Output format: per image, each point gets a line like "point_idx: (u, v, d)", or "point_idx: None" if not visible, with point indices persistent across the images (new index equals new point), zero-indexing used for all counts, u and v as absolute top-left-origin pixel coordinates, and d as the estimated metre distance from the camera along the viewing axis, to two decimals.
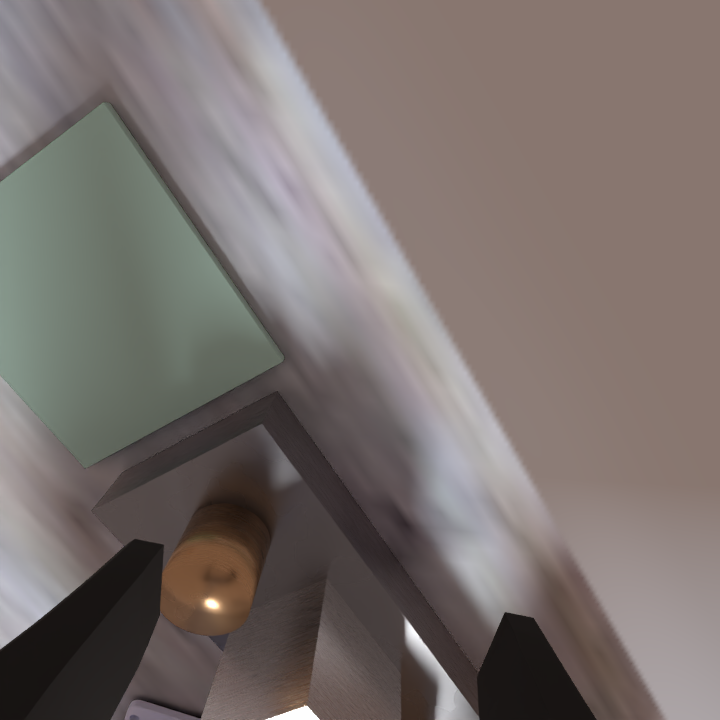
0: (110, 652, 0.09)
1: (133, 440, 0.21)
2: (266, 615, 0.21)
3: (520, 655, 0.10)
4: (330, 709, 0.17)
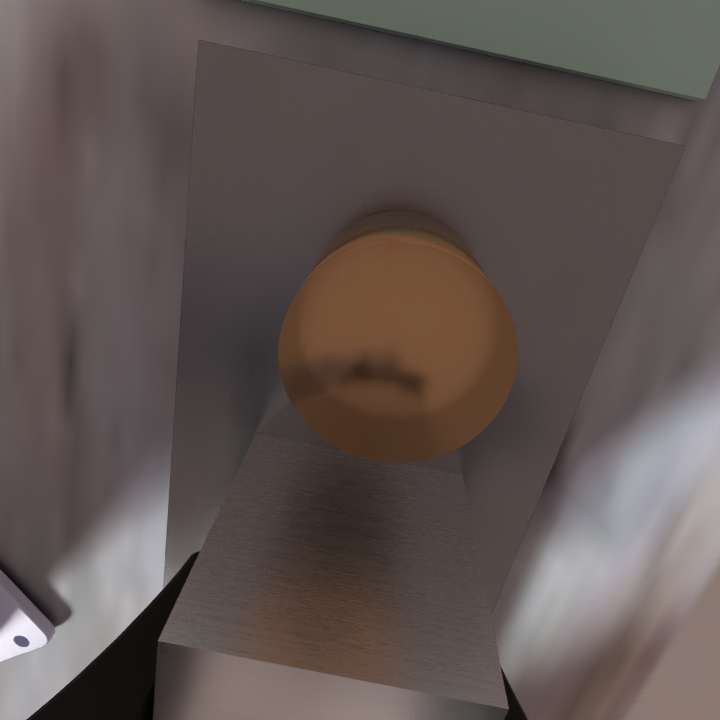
0: None
1: (334, 12, 0.10)
2: (334, 468, 0.11)
3: None
4: None
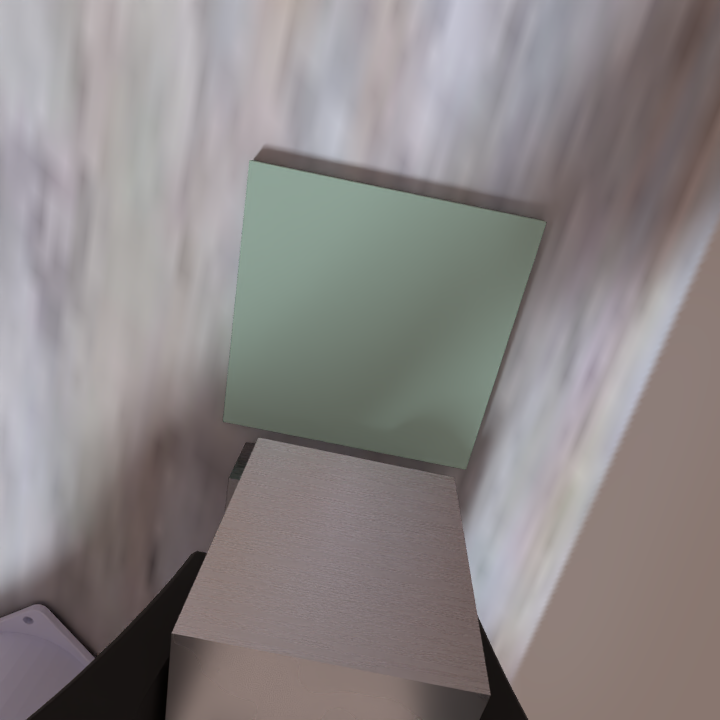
0: None
1: (290, 433, 0.21)
2: (332, 470, 0.11)
3: None
4: None
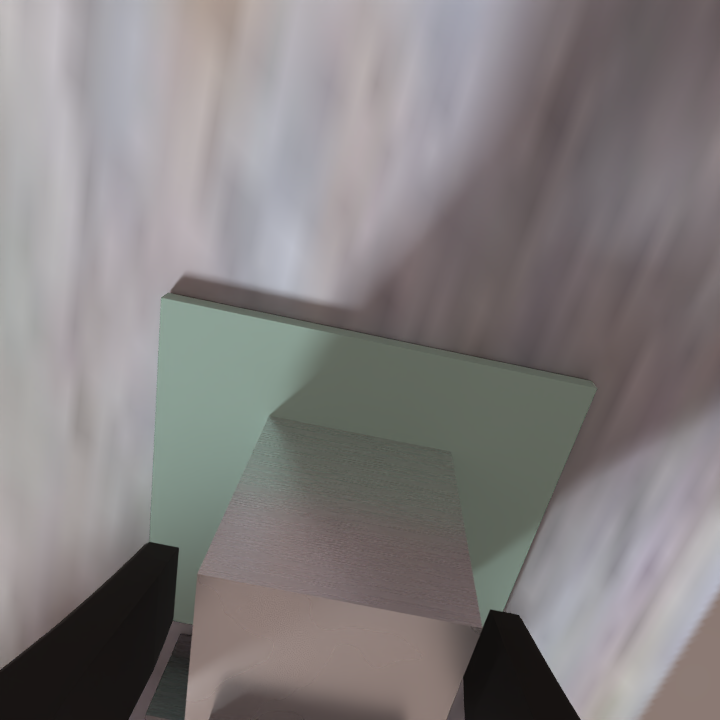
0: (128, 656, 0.09)
1: None
2: (338, 444, 0.12)
3: (504, 652, 0.10)
4: None
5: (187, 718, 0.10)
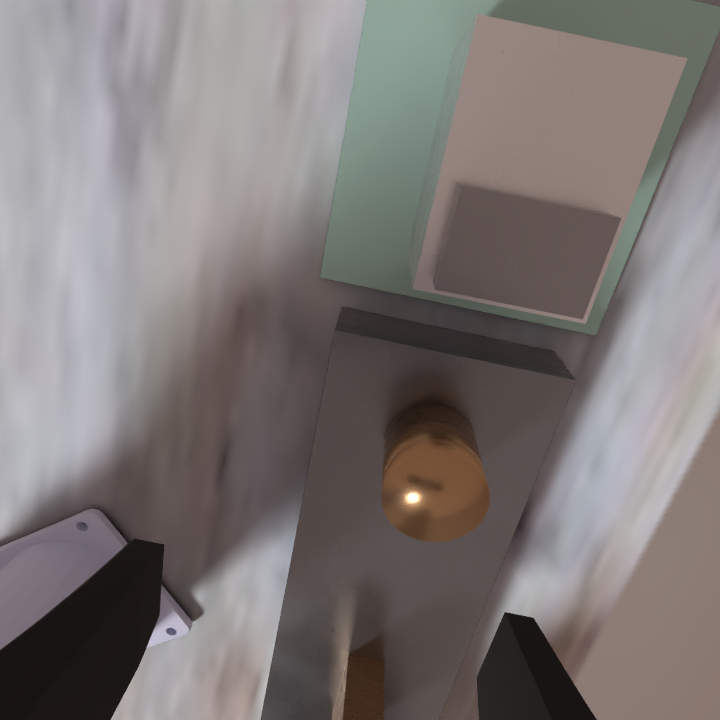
0: (110, 652, 0.09)
1: (396, 291, 0.18)
2: None
3: (520, 655, 0.10)
4: None
5: (438, 188, 0.12)
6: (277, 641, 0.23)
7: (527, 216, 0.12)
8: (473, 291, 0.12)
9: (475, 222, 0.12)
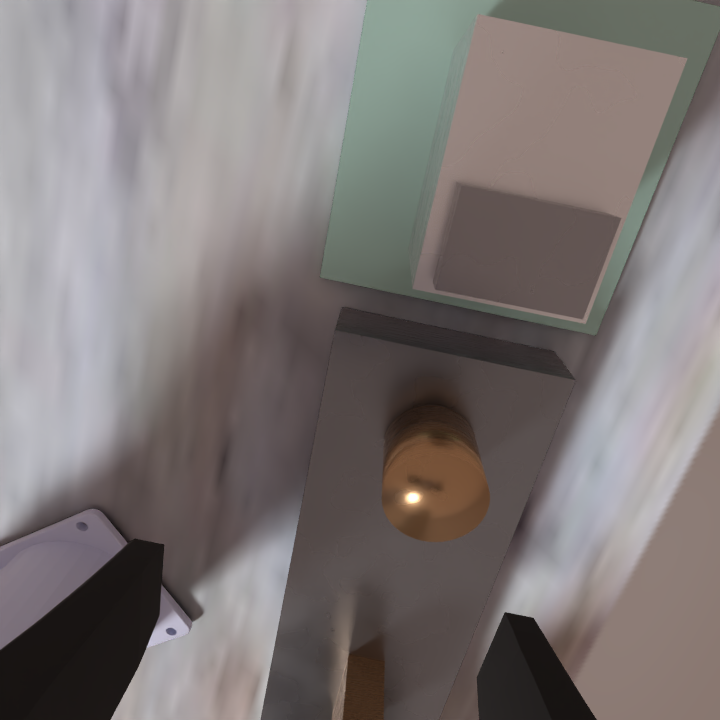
0: (110, 652, 0.09)
1: (396, 291, 0.18)
2: None
3: (520, 655, 0.10)
4: None
5: (438, 188, 0.12)
6: (277, 641, 0.23)
7: (527, 216, 0.12)
8: (473, 291, 0.12)
9: (475, 222, 0.12)
